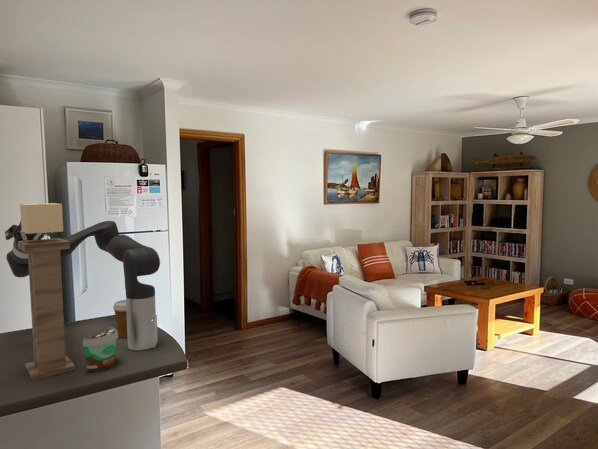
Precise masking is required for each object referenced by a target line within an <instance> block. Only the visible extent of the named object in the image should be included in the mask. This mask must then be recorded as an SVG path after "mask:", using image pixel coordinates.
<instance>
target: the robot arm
mask: <svg viewBox="0 0 598 449" xmlns="http://www.w3.org/2000/svg"><path fill="white" fill-rule="evenodd" d="M53 233H54V232H47V233H31V234H27V233H24V232H22V229H21V220H20V221H19V223H18V225H17V224H12V225H11V226H10V227H9V228H7V230H5V231H4V237H5V240H7V241H8V240H11V239H13V243H12V249H11V250H10V251H8V252H7V253H6V255H5V256H6V261H7V263H8V265H9V268H10V270H11V272H12V275H14V277H15V278H25V277H28V276H29V263H28V252H24V251H22V250H21V249H19V248H18V241H27V240H41V239H44V238H45V237H46V236H48V237H49V238H51V237H54V235H53ZM91 236H93V237H94V240H95V243H96V245H97V247H98V249H99V250H101V251H104V252H107V253H108V254H110V255H111V257H113V258H114V259H115V260H117V261H119V262H121V263H122V266H123V274H124V276H123V277H124V289H125V300H126V310H127V336H128V337H127V348H128V349H129V350H130V351H145V350H149V349H155V348H157V344H158V342H159V340H158V315H157V314H156V311H157V310H156V307H157V306H156V287H155V286H153V285H151V284H147V283H143V282H140V281H139V280H138V279H139V278H138V277H142V276H143V277H144V276H150V275H154V274H155V273H157V272H158V271H159V268H160V265H161V260H160V255H159V254H158V252H157V251H156V250H155V249H154V248H153V247H150V246H147V245H144V244H143V243H142V244H141V243H140V242H138V241H137V240H135V239H134V238H132V237H130V236H128V235H126V234H120V232H119V228H118V225H117V223H116V221H113V220H105V221H100V222H98V223H96V224H93V225H91V226H88V227H86V228H85V229H82V230H79V231H77V232H75V233H73V234H71V235H69V236H66V237H64V238H62V239H63V240H66V241H69V242H70V249H60V257H61V260H62V259H64V258H66V257H68V256H69V255H71V254H72V253H74V252H75V250H76V249H77V248H78V246H80V245H81V244H82V243H83V241H85V240H86V239H88V238H89V237H91Z"/></svg>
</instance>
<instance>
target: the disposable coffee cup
mask: <svg viewBox="0 0 598 449" xmlns="http://www.w3.org/2000/svg"><path fill="white" fill-rule="evenodd" d="M112 309H113V311H114V315H115V320H116V327H117V333H118V338H119V337H120V338H125V339H128V336H127V310H126V299H122V300H117V301H116V302H114V304H113V306H112Z"/></svg>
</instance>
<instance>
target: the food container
mask: <svg viewBox="0 0 598 449" xmlns="http://www.w3.org/2000/svg"><path fill="white" fill-rule="evenodd" d="M118 338H119V333H118V330H117V329H116V328H115V327H113V326H107V329H106V330H105V331H103V332H99V333H96V334H94V336H92V337H91V338H83V341H82V347H84V354H85V362H86V371H87V372H94V371H95V372H97V371H102V370H106V369H108V368H112V367H113V366H114V365H115V364H116V351H117V350H116V348H117V347H116V346H117V339H118Z"/></svg>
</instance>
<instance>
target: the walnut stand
mask: <svg viewBox="0 0 598 449" xmlns="http://www.w3.org/2000/svg"><path fill="white" fill-rule="evenodd" d="M63 239H64V238H59V237H57V238H46V239H44V238H42V239H41V240H27V241H18V248H19V249H21V250H22V251H24V252H28V263H29V275H28V276H29V277H28V279H29V293H30V312H31V326H32V327H31V329H32V344H33V345H32V346H33V348H32V350H33V361H31V362H26V363H24V367H25V369H26V371H27V373H28V374H29V376H30V378H31V379H32V381H34V380H39V379H43V378H47V377H50V376H55V375H59V374H64V373H66V372H71V371H75V370H76V369H77V367H76V365H75V363H74V362H73V361H72V360H71V359H70V358H69V357H68V356H67V355H66V340H65V338H66V336H65V335H66V334H65V319H64V316H65V314H64V301H63V300H64V299H63V283H62V282H63V280H62V277H63V276H62V261H61V260H62V259H61V257H60V249H70V242H69V241H66V240H63Z"/></svg>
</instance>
